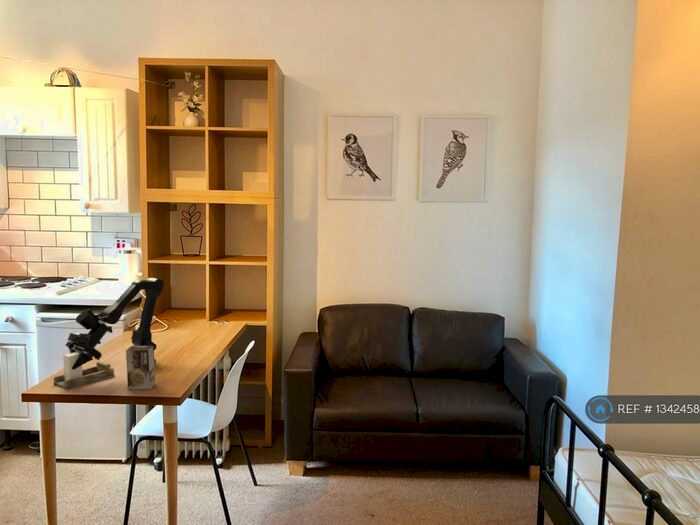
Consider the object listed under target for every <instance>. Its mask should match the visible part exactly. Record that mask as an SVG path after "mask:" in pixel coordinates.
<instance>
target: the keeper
mask: <svg viewBox="0 0 700 525" xmlns="http://www.w3.org/2000/svg"><path fill="white" fill-rule="evenodd" d="M78 357H79V353H77V352H74V353H70V352H69V353H66V354H63V356H62V358H63V374H64V377H65V381H67V380H71V379H75V378H78V377H82V369H83V365H81V366H80V367H78V368H76V369H74V370H73V369H72V367H73V365H74V363H75V362H76V360H77V359H78Z"/></svg>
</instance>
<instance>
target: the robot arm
mask: <svg viewBox="0 0 700 525" xmlns="http://www.w3.org/2000/svg"><path fill="white" fill-rule="evenodd" d="M164 287H165V283H164V280H162V279H161V278H155V277H148V278H147V279H141V280H133V281H132V282H131V284H130V285H129V286H128V288H126V289H125V291H124V292H123V293H122V294H121V295H120V296H119V297H118V299H116V301H115V302H114V303H113V304H111V305H109V306H107V307H105V308H104V309H102V311H101V312H100V313H97V314H95V313H94V311H92V310H91V309H89V308H87V309H85V311H82V312H81V313H79V314H78V315H77V316H76V318H75V322H76V323H77V324H78V325H80V326H82V328H84V329H85V330H89V331H88V332H87V333H79V334H76V333H73V332H70V333H69V336H68V338H67V342H66V343H65V344H64V345H65V347H67V348H68V350H69V354H70V353H74V352H77V353H79V357H78V359H77V360H76V362H75V363H74V365H73V367H72V369H73V370H74V369H76V368H78V367H80V366H81V365H82V366H83V365H84V364H87V363H88V362H90V361H94V359H95V360H96V361H97V360H98V361H100V359H101V358H102V354H103V353H102V352H100V350H98V349H96V347H97V345H101V343H102V342H101V340H102V339H103V337H104V336H105V335H106V333H111V334H113V329H112V328H113V327H112V325H115V324H117V323H118V322H119V321H120V320H121V318H122V316H123V314H124V313H123V312H124V310H125V309H126V308H127V307H128V305H129V304H130V303H131V302H132V301H133V300H134V299H135V297H136V296H137V295H138V294H139V293H140V292H141V291H143V290H144V293H145V299H144V303H143V308H142V311H141V312H142V313H141V316H140V322H139V325H138V328H137V329H136V330H132V335H131V338H130V339H131V344H132V346H154V351H156V349H157V345H158V344H156V343H154V341H153V340H152V339H153V337H152V336H153V335H152V331H151V327H152V322H153V318H154V315H155V314H154V313H155V309H156V305H157V300H158V298H159V296H160V295H161V294H162V293H163V289H164ZM108 324H109V325H108ZM93 358H94V359H93ZM156 361H157V359H155V358H154V362H156Z"/></svg>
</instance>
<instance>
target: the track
mask: <svg viewBox="0 0 700 525" xmlns="http://www.w3.org/2000/svg"><path fill="white" fill-rule="evenodd" d="M114 370H115V369H114V368H113V367H112V368H111V363H108V362H105V361H102V360H98V361H96V365H95V366H92V367H87V368H84V369H83V368H82V377H78V378H75V379H71V380H67V381H65V377H64V373H63V374H60V375H56V376H53V384H54V383H55V384H57V385H59V386H58V387H60V386H61V387H60V388H62V387H64V388H63V389H65V388H66V389H65V390H69V389H72V387H73V388H76V387H80V386H82V384H83V385H86V383H87V384H90V383H93V381H94V382H97V381H100V380H99V379H101V380H104V379H107V378H106V377H108V378H110V377H109V376H111V377H114V376H115V371H114ZM113 375H114V376H113ZM103 378H104V379H103ZM96 380H97V381H96ZM89 382H90V383H89ZM55 384H54V385H55ZM57 385H56V386H57ZM79 385H80V386H79ZM75 386H76V387H75ZM68 388H69V389H68Z"/></svg>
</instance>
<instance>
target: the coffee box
mask: <svg viewBox="0 0 700 525" xmlns="http://www.w3.org/2000/svg"><path fill="white" fill-rule="evenodd" d="M154 359H155V350H154V346H134V345H131V346H130V347H128V348H127V349H126V350H125V362H126V375H127V376H126V377H127V379H126V380H127V390H151V389H152V388H153V387H154V386H155V385H156V373H155V372H156V370H155V369H156V368H155V361H154Z"/></svg>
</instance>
